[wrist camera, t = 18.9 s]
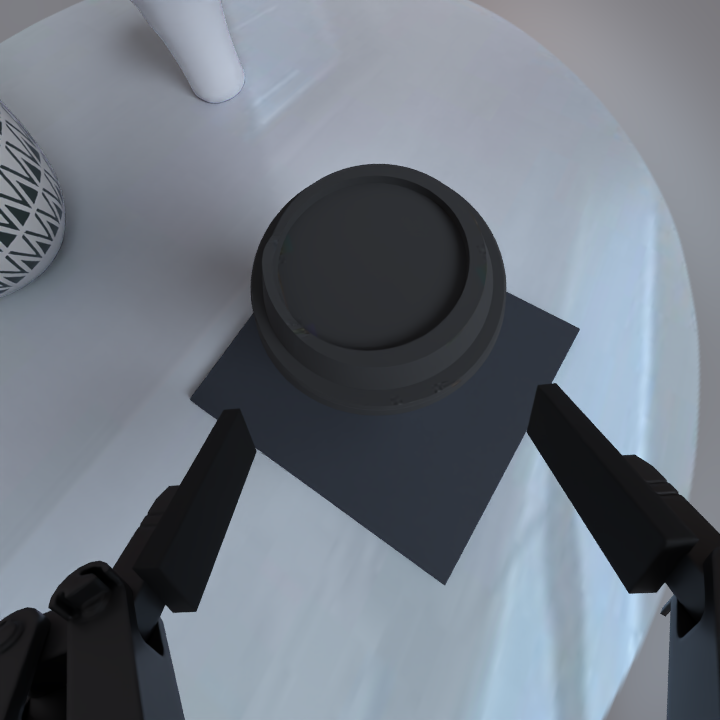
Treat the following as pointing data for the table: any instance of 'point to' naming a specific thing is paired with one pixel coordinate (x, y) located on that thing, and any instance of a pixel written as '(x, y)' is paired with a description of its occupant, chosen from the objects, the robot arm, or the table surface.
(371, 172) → the coffee cup
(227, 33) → the cup
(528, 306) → the mat
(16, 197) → the planter
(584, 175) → the table surface
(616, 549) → the robot arm
